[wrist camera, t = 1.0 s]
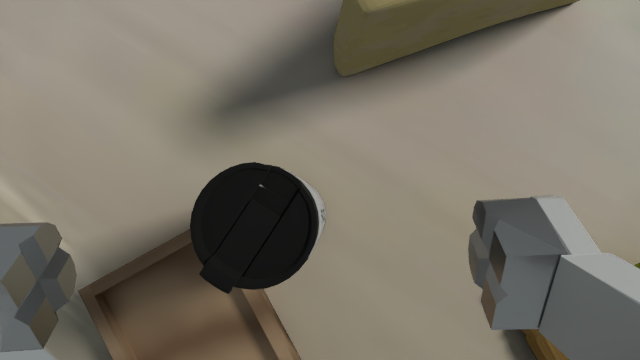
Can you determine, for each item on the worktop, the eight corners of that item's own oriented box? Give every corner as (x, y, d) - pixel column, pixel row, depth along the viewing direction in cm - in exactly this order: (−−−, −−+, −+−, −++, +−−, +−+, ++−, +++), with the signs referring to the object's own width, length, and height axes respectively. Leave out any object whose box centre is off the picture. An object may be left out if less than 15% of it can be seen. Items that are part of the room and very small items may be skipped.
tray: (321, 398, 43) (320, 411, 40) (189, 471, 43) (179, 489, 40) (223, 214, 44) (215, 214, 41) (93, 285, 44) (78, 290, 41)
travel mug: (238, 228, 43) (156, 250, 23) (280, 165, 44) (233, 134, 24) (298, 268, 43) (266, 324, 23) (339, 204, 43) (343, 206, 23)
